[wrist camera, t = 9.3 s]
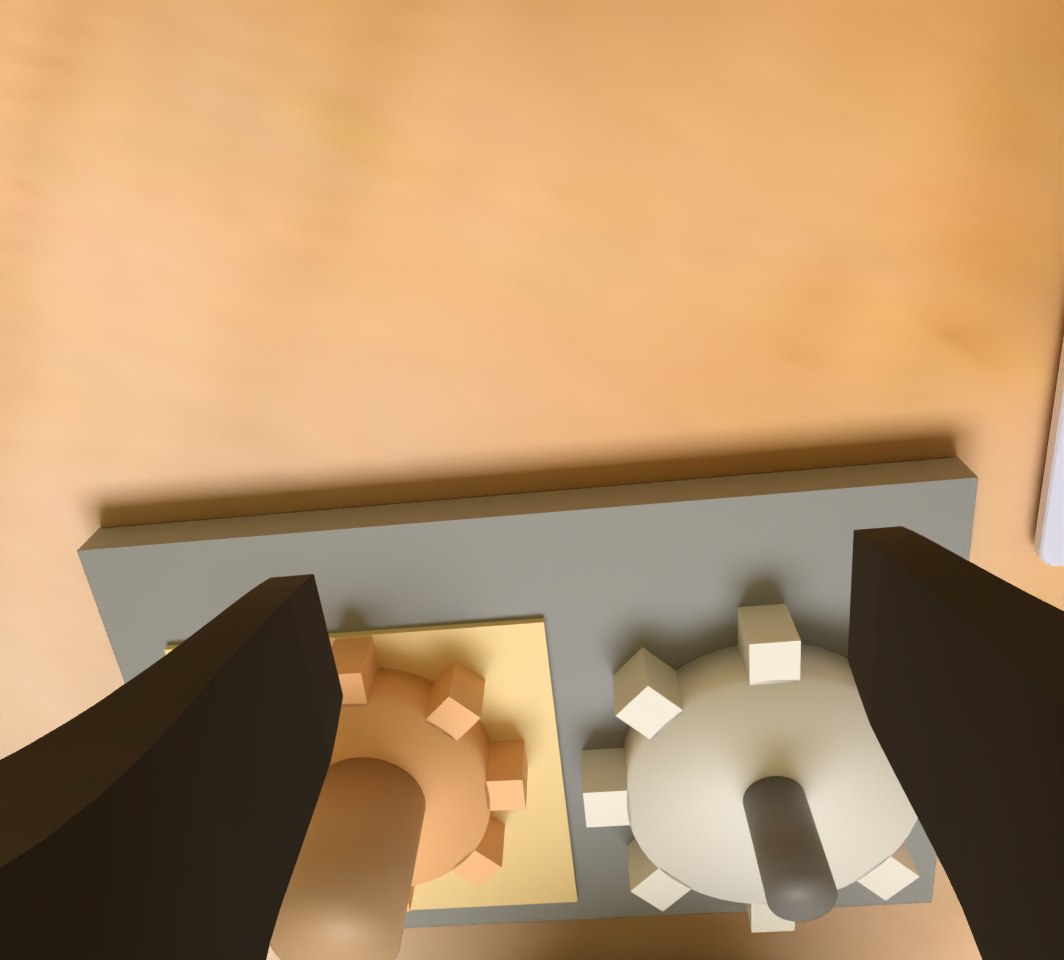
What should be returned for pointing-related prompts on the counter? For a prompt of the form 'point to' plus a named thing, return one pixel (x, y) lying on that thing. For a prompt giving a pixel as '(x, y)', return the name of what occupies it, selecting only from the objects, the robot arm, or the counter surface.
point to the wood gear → (396, 807)
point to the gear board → (611, 673)
